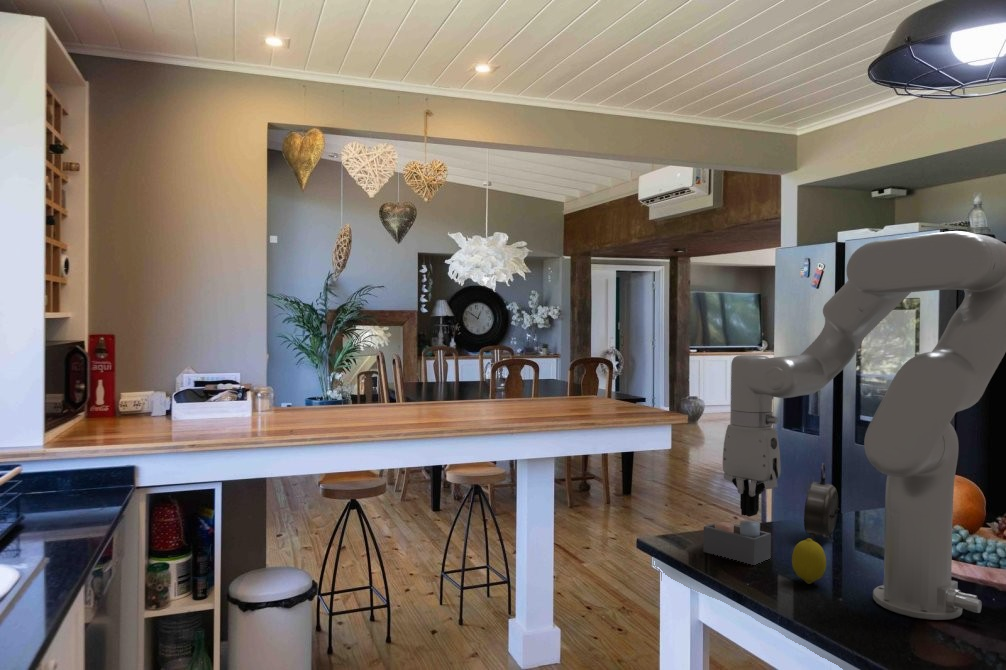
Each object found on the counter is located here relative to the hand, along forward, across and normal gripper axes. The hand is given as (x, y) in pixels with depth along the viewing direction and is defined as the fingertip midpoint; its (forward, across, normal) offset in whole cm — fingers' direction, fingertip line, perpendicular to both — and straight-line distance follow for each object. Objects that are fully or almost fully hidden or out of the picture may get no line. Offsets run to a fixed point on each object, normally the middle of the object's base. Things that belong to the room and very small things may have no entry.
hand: (749, 514), depth 141 cm
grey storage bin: (+9, +3, 0) cm, 9 cm away
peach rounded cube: (+7, +5, 0) cm, 9 cm away
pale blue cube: (+6, 0, 0) cm, 6 cm away
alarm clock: (+9, -4, -22) cm, 24 cm away
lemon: (+9, -14, +4) cm, 17 cm away
